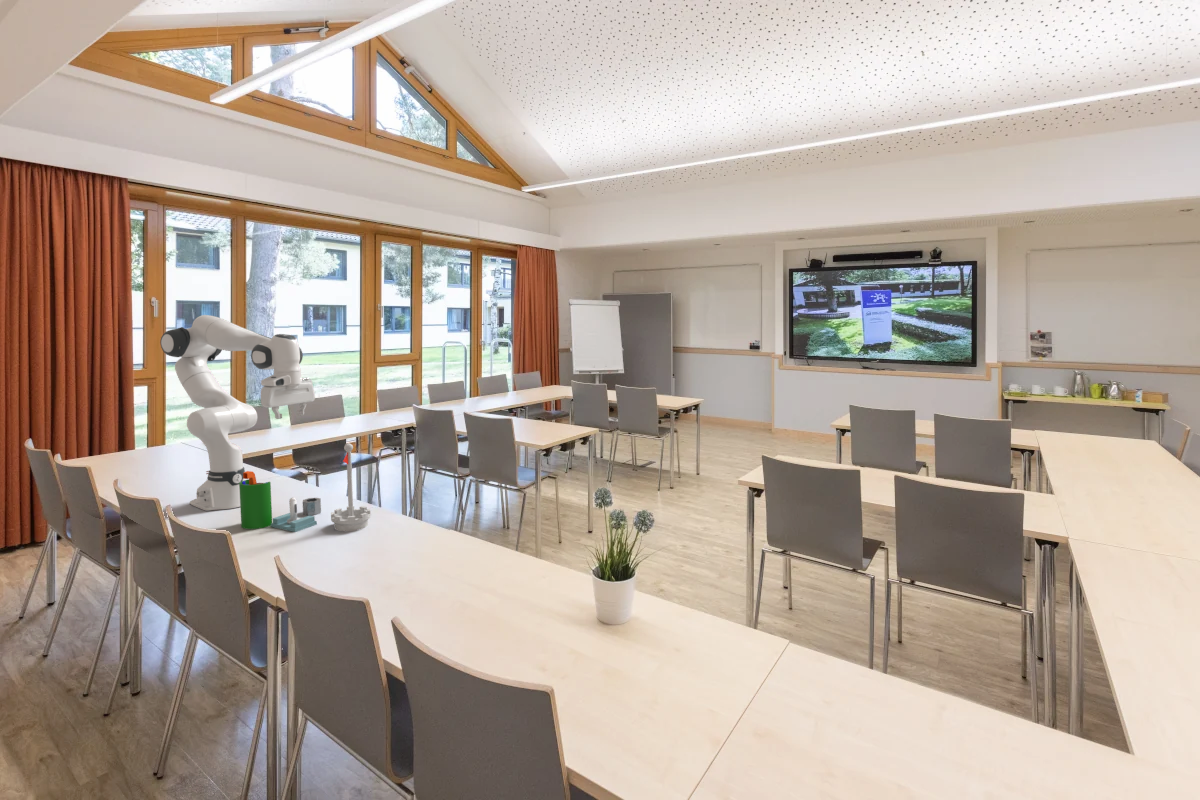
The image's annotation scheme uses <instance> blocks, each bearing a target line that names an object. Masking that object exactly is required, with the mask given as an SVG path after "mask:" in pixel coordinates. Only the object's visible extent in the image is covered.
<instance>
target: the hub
mask: <svg viewBox="0 0 1200 800" xmlns="http://www.w3.org/2000/svg"><path fill="white" fill-rule="evenodd" d="M321 513H322V502H321V498H319V497H307V498H305V499H303V500H302V515H303V516H306V517H307V516H316V515H319V514H320V515H321Z"/></svg>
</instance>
